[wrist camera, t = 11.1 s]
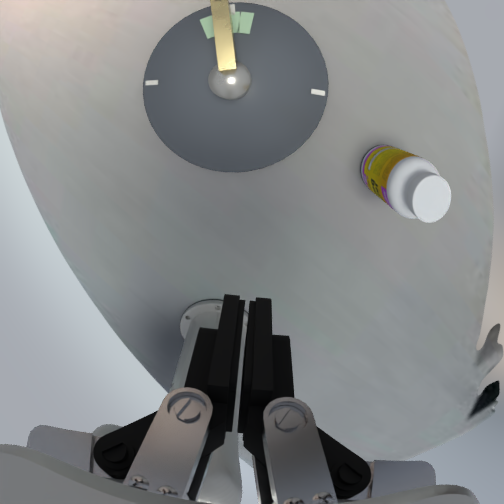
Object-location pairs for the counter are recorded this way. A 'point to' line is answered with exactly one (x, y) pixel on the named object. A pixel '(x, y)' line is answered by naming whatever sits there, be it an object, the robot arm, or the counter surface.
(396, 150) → the supplement bottle
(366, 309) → the counter surface
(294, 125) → the dial
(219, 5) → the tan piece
